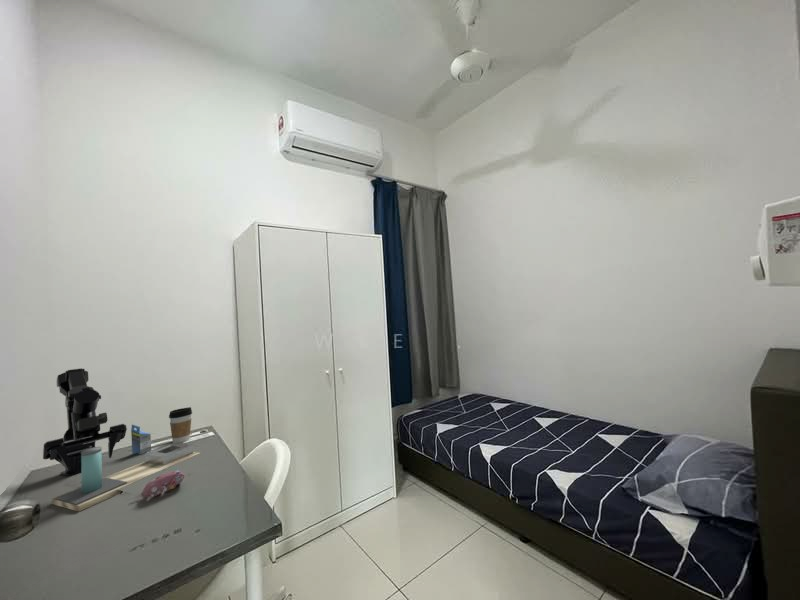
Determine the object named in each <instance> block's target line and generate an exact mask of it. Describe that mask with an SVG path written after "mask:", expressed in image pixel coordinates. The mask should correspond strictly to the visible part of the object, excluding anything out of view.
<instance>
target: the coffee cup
mask: <svg viewBox="0 0 800 600" xmlns="http://www.w3.org/2000/svg"><path fill="white" fill-rule="evenodd" d="M192 414H193V410H192V407H191V406H190V407H182V408H178V409H177V408H176V409H173V410H171V411H169V415H168V418H169V420H170V422H169V424H170V432H171V433H170V434H171V438H172V439H171V441H172V444H173V443H185V442H188V441H189V440H191V430H192V429H191V428H192V427H191V426H192Z"/></svg>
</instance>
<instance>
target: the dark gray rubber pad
mask: <svg viewBox="0 0 800 600" xmlns="http://www.w3.org/2000/svg"><path fill="white" fill-rule="evenodd" d="M102 478H103V479H102V487H101V488H100V489H98V490H96V491H93V492H90V493H85V494H83V493H82V486H80V487H77V488H78V489H77V488H75V489H73V491H72V490H70V491H68V493H67V492H64V493H65V494H64V493H62V494H63V495H62V494H60V496H59V495H57V496H58V497H57V496H55V498H54V497H53V498H54V499H55V500H58V501H62V502H66V503H70V504H73V505H78V504H80V503H83V502H85V501H87V500H90V499H92V498H94V497H96V496H99V495H101V494H103V493H106V492H108V491H110V490H113V489H115V488H117V487H119V486H122V485H124V484H126V483H127V482H125V481H120V480H115V479H110V478H105V477H102Z"/></svg>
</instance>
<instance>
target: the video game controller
mask: <svg viewBox="0 0 800 600" xmlns="http://www.w3.org/2000/svg"><path fill="white" fill-rule="evenodd" d="M184 479H185V474H184V473H183V472H182V471H181V470H179V469H176V470H175V471H167V472H164V473H162V474H160V475H159V476H156V477H155V478H152V479H150V480H149V481H148V482H147V484H146V485H145V487H144V488H143V490H142V494H141V495H142V498H144V499H145V498H147V497H148V496H150V495H153V496H155V497H157V495H158V496H160V495H161V494H163V492H164V486H165V488H166V490H167V491H169V490H170V491H172V490H171V489H173V490H174V489H175V488H176V486H177V485H179V484H182V482H183V480H184ZM170 491H169V492H170ZM159 494H160V495H159Z"/></svg>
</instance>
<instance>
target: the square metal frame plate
mask: <svg viewBox="0 0 800 600" xmlns="http://www.w3.org/2000/svg"><path fill="white" fill-rule="evenodd" d="M194 452H195V450H194V444H188V443H183V442H181V443H173V442H172V443H171V444H168V445H166V446H163V447H159V448H158V449H155V450H151V451H149V452H146V453H143V455H144V459H143V460H144V461H143V462H144V463H149V464H156V465H162V466H164V465H166V464H168V463H171V462H173V461H175V460H178V459H180V458H182V457H185V456H187V455H189V454H192V453H194Z"/></svg>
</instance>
